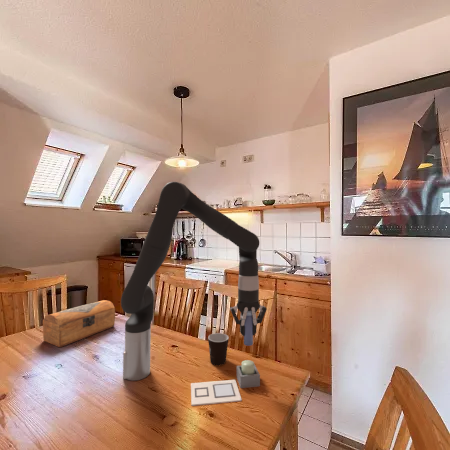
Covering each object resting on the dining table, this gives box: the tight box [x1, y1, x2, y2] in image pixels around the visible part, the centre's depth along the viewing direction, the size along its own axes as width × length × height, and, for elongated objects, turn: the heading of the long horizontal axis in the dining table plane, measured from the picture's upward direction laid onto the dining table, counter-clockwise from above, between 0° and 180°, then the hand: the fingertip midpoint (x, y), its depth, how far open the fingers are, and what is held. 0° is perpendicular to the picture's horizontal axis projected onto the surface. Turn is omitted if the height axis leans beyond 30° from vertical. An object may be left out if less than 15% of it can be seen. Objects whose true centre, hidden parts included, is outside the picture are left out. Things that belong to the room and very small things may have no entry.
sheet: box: [190, 379, 242, 407], centre depth 86 cm, size 16×11×1 cm
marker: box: [243, 311, 254, 347], centre depth 92 cm, size 3×3×12 cm
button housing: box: [236, 363, 261, 389], centre depth 92 cm, size 7×7×4 cm
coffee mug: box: [207, 332, 229, 367], centre depth 107 cm, size 12×9×10 cm
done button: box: [241, 359, 255, 375], centre depth 92 cm, size 5×5×4 cm
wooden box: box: [42, 299, 116, 348], centre depth 133 cm, size 30×16×14 cm, turn 150°
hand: (248, 334), depth 92 cm, fingers closed on marker, 3 cm apart
